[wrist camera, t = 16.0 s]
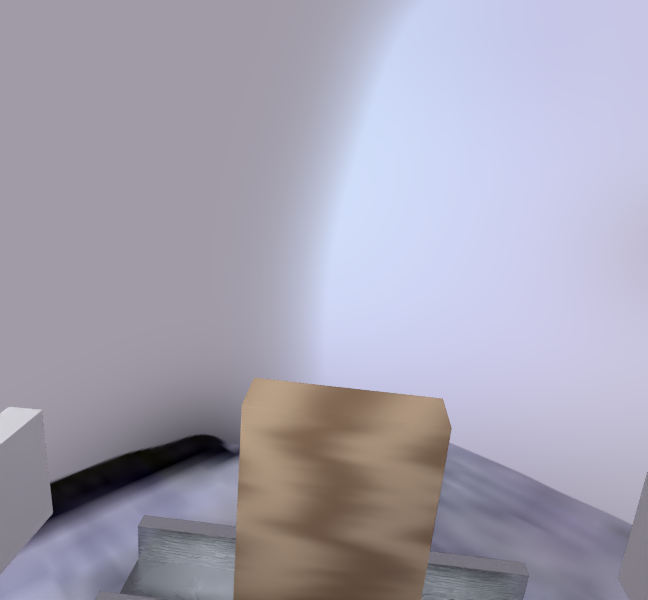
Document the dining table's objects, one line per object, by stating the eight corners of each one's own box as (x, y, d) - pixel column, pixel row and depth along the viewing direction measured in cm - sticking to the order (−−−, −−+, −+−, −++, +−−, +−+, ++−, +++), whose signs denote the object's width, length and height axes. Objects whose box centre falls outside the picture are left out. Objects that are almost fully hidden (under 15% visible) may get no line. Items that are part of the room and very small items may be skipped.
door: (407, 602, 33) (441, 395, 29) (411, 653, 30) (451, 428, 25) (245, 581, 33) (255, 374, 29) (231, 629, 30) (242, 404, 26)
